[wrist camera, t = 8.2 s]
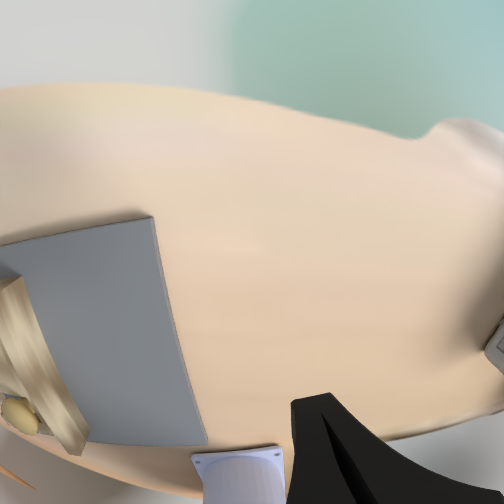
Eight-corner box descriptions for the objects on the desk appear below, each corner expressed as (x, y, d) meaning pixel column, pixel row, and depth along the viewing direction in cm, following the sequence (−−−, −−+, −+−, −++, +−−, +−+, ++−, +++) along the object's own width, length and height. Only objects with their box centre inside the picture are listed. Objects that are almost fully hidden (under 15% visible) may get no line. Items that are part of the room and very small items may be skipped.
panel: (90, 429, 19) (80, 456, 16) (13, 416, 18) (1, 436, 15) (22, 275, 15) (-5, 294, 12) (-49, 285, 14) (-71, 299, 11)
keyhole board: (207, 437, 21) (207, 473, 17) (31, 425, 20) (17, 449, 16) (153, 217, 16) (134, 230, 12) (-45, 257, 15) (-73, 271, 11)
